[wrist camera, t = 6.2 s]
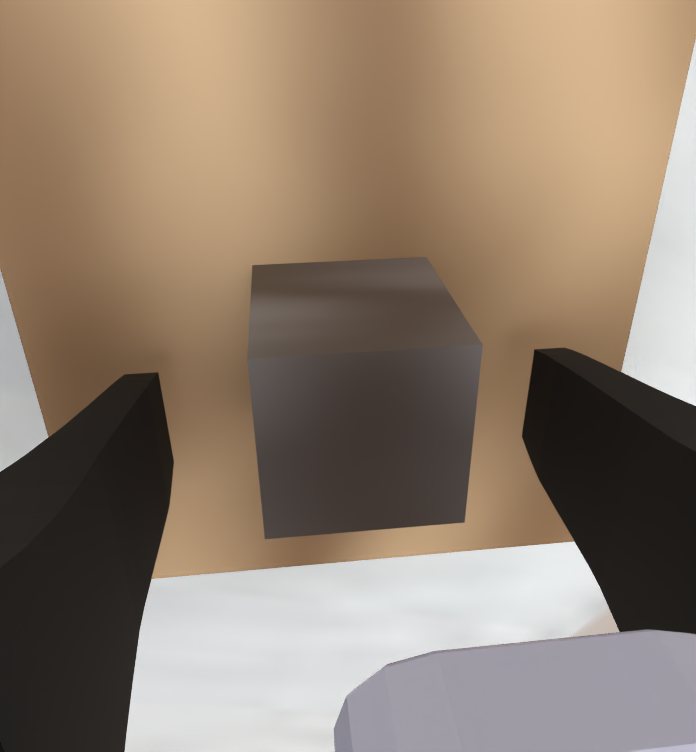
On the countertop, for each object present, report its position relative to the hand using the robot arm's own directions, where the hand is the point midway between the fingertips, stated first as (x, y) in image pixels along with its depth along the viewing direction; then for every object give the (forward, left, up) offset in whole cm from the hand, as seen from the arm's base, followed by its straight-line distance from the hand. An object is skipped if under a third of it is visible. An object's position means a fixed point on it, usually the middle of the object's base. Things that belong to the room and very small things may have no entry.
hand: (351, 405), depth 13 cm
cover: (0, 0, -3) cm, 3 cm away
